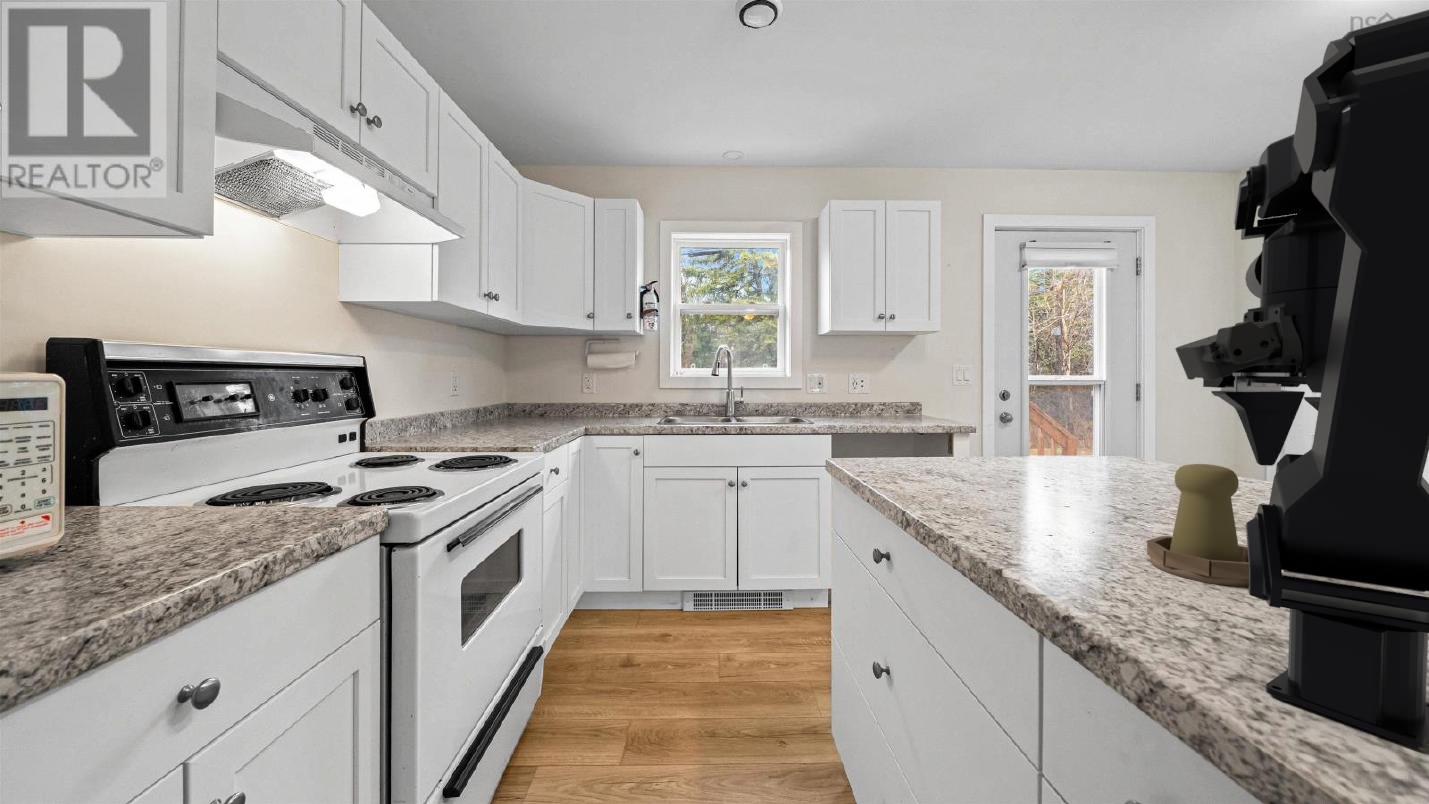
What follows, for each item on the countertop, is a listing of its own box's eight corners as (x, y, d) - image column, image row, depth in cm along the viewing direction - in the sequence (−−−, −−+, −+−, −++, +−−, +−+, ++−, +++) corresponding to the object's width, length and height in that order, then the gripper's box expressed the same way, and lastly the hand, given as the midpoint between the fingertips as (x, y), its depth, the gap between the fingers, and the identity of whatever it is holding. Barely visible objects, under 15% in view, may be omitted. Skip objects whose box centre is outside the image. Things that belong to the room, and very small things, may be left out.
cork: (1210, 555, 62) (1212, 461, 62) (1258, 573, 56) (1261, 469, 56) (1155, 554, 63) (1156, 460, 62) (1196, 572, 57) (1198, 469, 56)
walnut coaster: (1247, 593, 53) (1247, 569, 53) (1134, 565, 61) (1134, 544, 61) (1283, 576, 57) (1284, 554, 57) (1173, 551, 66) (1173, 532, 66)
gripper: (1144, 309, 57) (1141, 455, 57) (1260, 281, 39) (1253, 492, 40) (1278, 303, 53) (1273, 458, 54) (1472, 269, 35) (1460, 501, 36)
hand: (1301, 474), depth 46 cm, fingers open, 9 cm apart
